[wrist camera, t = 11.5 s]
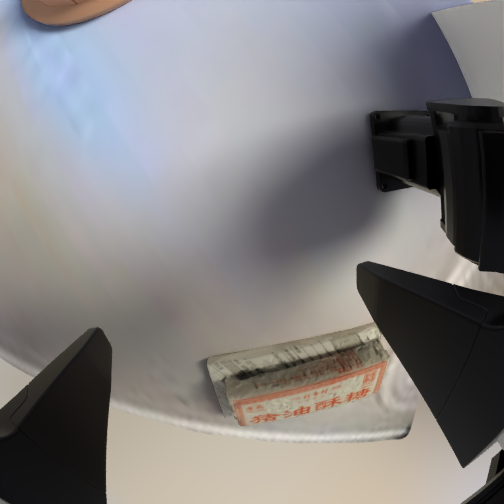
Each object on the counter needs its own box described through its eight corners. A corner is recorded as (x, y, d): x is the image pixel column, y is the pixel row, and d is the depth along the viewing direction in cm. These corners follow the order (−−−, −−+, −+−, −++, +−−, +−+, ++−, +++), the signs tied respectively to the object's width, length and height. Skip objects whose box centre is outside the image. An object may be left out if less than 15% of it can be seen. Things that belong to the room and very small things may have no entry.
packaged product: (401, 344, 23) (380, 403, 27) (378, 316, 27) (364, 376, 31) (206, 391, 21) (226, 442, 25) (204, 352, 25) (222, 409, 30)
